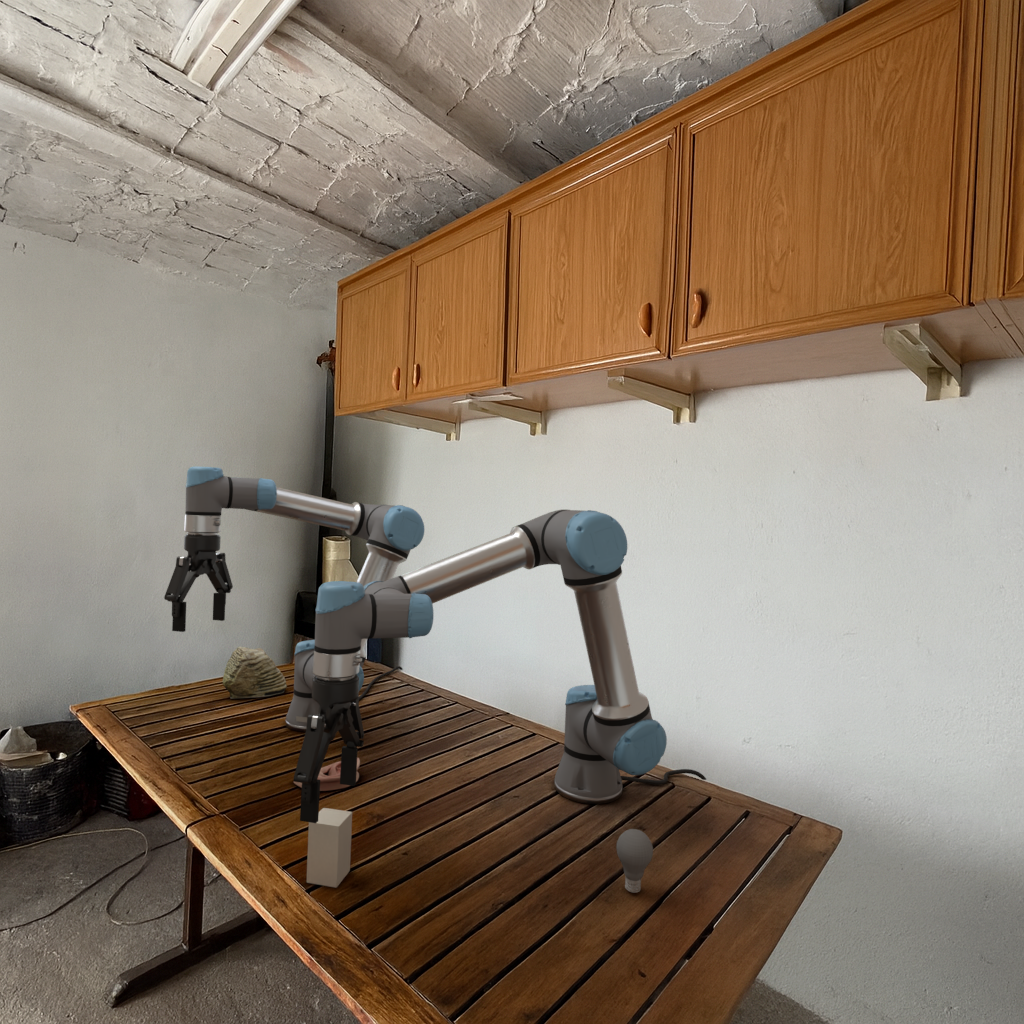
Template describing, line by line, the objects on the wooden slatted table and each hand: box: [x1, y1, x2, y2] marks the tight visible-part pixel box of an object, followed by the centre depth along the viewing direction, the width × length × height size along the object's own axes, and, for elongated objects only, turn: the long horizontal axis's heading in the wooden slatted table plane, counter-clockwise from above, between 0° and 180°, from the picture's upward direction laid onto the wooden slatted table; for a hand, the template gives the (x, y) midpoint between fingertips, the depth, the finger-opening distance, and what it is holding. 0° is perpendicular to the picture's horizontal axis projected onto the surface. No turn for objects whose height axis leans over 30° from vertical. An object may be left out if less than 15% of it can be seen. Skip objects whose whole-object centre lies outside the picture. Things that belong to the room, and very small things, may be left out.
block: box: [306, 807, 353, 888], centre depth 106 cm, size 5×5×10 cm
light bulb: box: [615, 828, 654, 894], centre depth 106 cm, size 6×6×10 cm
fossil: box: [222, 646, 288, 699], centre depth 198 cm, size 9×18×15 cm, turn 132°
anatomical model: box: [293, 757, 361, 792], centre depth 141 cm, size 13×4×12 cm
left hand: (199, 625), depth 146 cm, fingers open, 13 cm apart
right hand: (329, 801), depth 106 cm, fingers open, 13 cm apart
